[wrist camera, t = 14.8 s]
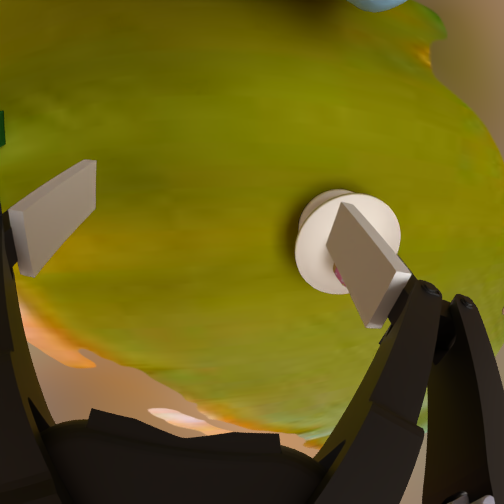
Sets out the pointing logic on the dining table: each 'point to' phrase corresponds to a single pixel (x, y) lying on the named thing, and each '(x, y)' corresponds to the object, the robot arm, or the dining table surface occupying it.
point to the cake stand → (319, 227)
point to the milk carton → (2, 129)
